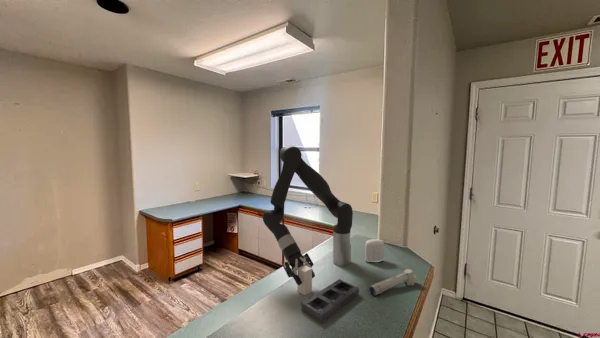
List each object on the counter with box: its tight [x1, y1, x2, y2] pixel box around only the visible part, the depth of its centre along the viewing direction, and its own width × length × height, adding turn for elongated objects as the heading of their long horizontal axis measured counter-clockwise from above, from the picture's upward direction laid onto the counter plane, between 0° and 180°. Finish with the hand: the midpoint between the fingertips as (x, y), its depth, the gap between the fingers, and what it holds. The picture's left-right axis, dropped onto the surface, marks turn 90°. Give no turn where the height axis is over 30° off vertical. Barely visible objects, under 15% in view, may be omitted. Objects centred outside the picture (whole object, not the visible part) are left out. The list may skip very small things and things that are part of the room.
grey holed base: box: [300, 278, 360, 324], centre depth 93 cm, size 24×10×3 cm, turn 135°
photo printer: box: [364, 238, 385, 263], centre depth 129 cm, size 10×4×12 cm, turn 98°
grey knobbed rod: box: [367, 268, 417, 297], centre depth 103 cm, size 5×7×25 cm
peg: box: [297, 265, 313, 296], centre depth 101 cm, size 4×4×10 cm
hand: (307, 280), depth 100 cm, fingers open, 7 cm apart
